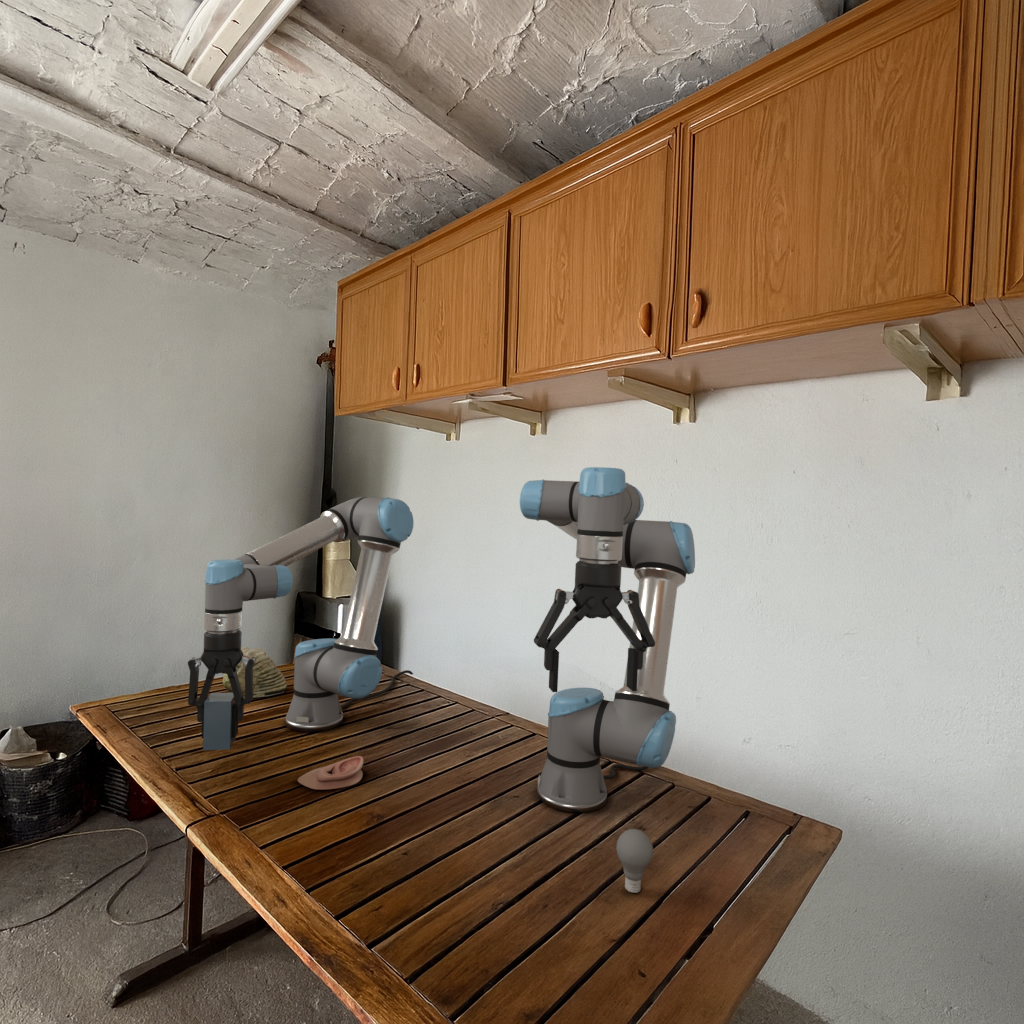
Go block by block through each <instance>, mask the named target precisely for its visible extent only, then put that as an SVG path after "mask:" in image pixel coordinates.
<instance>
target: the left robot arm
mask: <svg viewBox="0 0 1024 1024" xmlns="http://www.w3.org/2000/svg"><path fill="white" fill-rule="evenodd" d="M413 529H414V515H413V512H412V511H411V509H410V506H409V505H408V504H407V503H406V502H405V501H403V500H401V499H397V498H393V497H370V496H358V497H354V498H351V499H348V500H346V501H344V502H340V503H339V504H337V505H335V506H333V507H330V508H329V509H327V510H324V511H323V512H321V514H320V516H319V517H318V518H316V519H314V520H313V521H310V522H308V523H306V524H305V525H302V526H300V527H298V528H296V529H294V530H292V531H290V532H287V533H285V534H284V535H282V536H280V537H277V538H276V539H274V540H272V541H270V542H268V543H265V544H264V545H262V546H260V547H257V548H256V549H253V550H251V551H249V552H247V553H245V554H243V555H241V556H238V557H236V558H234V559H229V558H228V559H223V558H222V559H213V560H210V561H209V562H208V563H207V564H206V570H205V579H204V584H205V588H204V589H205V590H204V594H205V595H204V596H205V597H204V623H203V627H204V631H205V632H204V633H203V651H202V654H201V655H200V656H197V657H194V656H193V657H191V658H190V659H189V660H188V661H187V667H188V669H189V681H188V697H187V704H188V706H194V707H196V709H197V710H196V711H197V712H196V721H197V723H201V739H203V736H204V702H205V700H206V699H207V698H208V697H209V695H210V691H211V688H212V685H213V682H214V679H215V676H216V675H219V674H223V675H224V674H227V676H228V678H229V680H230V684H231V688H232V691H233V695H234V699H235V702H236V704H235V705H234V707H233V713H232V737H236V738H237V735H238V734H239V722H242V720H243V718H244V714H245V713H244V711H245V705H249V704H251V703H252V700H253V699H254V697H253V665H254V663H255V660H256V659H255V657H251V658H250V657H247V656H243V653H242V651H241V647H242V636H243V635H242V634H243V633H242V630H241V629H242V627H243V604H244V602H249V601H258V600H267V599H277V598H281V597H285V596H288V595H289V594H290V592H291V591H292V588H293V585H294V584H293V580H294V579H293V578H294V577H293V574H292V572H291V570H290V568H289V567H288V566H289V565H292V564H293V563H296V562H297V561H299V560H301V559H303V558H305V557H307V556H309V555H310V554H312V553H315V552H316V551H319V550H320V549H322V548H324V547H325V546H328V545H329V544H331V543H337V544H338V543H341V542H342V541H345V540H347V539H352V538H357V543H358V545H359V546H360V549H361V550H360V554H359V557H358V563H357V567H356V571H355V575H354V580H353V583H352V589H351V593H350V597H349V602H348V606H347V611H346V615H345V620H344V624H343V629H342V632H341V636H339V637H338V638H331V637H329V638H317V639H316V638H315V639H308V640H304V641H300V642H299V643H298V644H297V645H296V646H295V650H294V651H295V652H294V655H293V658H294V672H293V695H292V696H293V697H292V699H291V702H290V704H289V708H288V711H287V713H286V715H285V726H286V728H287V729H289V730H291V731H294V732H295V731H296V732H301V733H316V732H325V731H329V730H332V729H335V728H337V727H339V726H340V725H342V723H343V722H344V713H343V709H345V708H346V707H348V706H349V705H350V704H352V703H354V702H355V703H356V702H359V701H362V700H367V699H371V698H376V697H379V696H381V695H383V694H384V693H387V692H389V690H391V689H392V687H393V686H394V684H395V679H397V678H398V677H400V676H402V675H405V674H409V675H411V676H413V675H414V672H412V670H409V669H408V670H402V671H400V672H398V673H397V674H395V675H393V676H392V677H391V679H390V680H391V682H390V683H389V685H388V687H386V688H384V689H383V690H381V691H377V692H375V693H372V692H374V691H375V690H376V688H377V687H378V685H379V683H380V681H381V680H382V679H381V678H382V675H383V666H382V663H381V660H380V659H379V658H378V657H377V655H378V650H379V647H377V645H376V643H375V637H376V634H377V628H378V624H379V619H380V614H381V610H382V605H383V601H384V597H385V591H386V588H387V582H388V577H389V574H390V568H391V563H392V559H393V555H394V554H395V553H397V552H399V551H400V548H401V544H402V542H404V541H406V540H408V538H409V537H411V535H412V533H413V531H414V530H413ZM240 661H242V662H243V666H244V667H246V668H245V698H244V697H243V694H242V690H241V686H240V683H239V679H238V675H237V669H236V666H237V665H238V664H239V663H240ZM202 664H203V665H204V666H205V667H206V668H207V673H206V675H205V680H204V683H203V686H202V688H201V692H200V695H199V697H198V694H199V679H200V678H199V677H200V667H201V665H202ZM371 693H372V694H371ZM339 695H340V696H341V697H343V698H345V699H346V698H348V699H349V700H348V701H346V702H345V703H344V704H341V702H340V699H339Z"/></svg>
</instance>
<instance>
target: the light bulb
mask: <svg viewBox="0 0 1024 1024" xmlns="http://www.w3.org/2000/svg"><path fill="white" fill-rule="evenodd" d="M615 849H616V854H617V857H618V859H619V861H620V863H621V865H622V867H623V873H624V874H623V875H624V876H625V878H624V888H625V890H627V891H628V892H630V893H634V894H635V893H639V892H640V891H641V889H642V887H641V886H642V879H643V877H644V875H645V871H646V868H647V867H648V866H649V864H650V863H651V861H652V859H653V855H654V847H653V843H652V841H651V838H649V836H648V835H647V834H646V833H645V832H643V831H642V830H641V829H636V828H629V829H627V830H625V831H623V832H622V833H621V834H620V835H619V837H618V839H617V841H616V847H615Z"/></svg>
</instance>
